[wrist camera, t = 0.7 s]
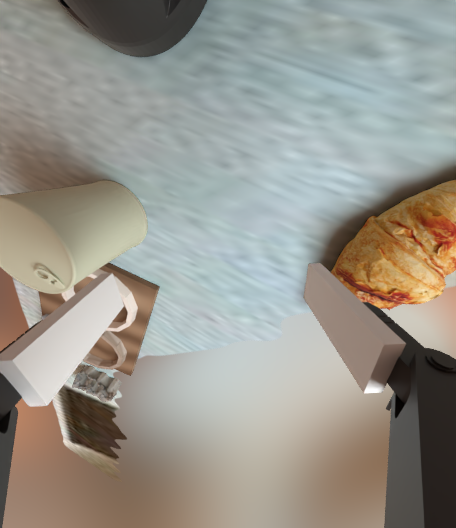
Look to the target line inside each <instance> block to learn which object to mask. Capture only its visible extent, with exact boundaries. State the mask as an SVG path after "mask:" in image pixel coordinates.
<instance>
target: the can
mask: <svg viewBox="0 0 456 528" xmlns="http://www.w3.org/2000/svg"><path fill="white" fill-rule="evenodd" d="M147 229H148V222H147V217H146V213H145V211H144V208H143V206H142V205H141V203H140V201H139V200H138V199H137V197H136V196H135V195H134V194H133V193H132V192H131V191H130V190H128V189H127V188H126V187H124V186H123V185H121V184H119V183H116V182H113V181H107V180H102V181H97V182H95V183H91V184H85V185H78V186H71V187H64V188H56V189H49V190H41V191H34V192H26V193H18V194H9V195H0V267H1V268H2V269H3V270H4V271H6V272H7V273H8V274H9V275H11V276H12V277H13V278H15V279H16V280H18V281H19V282H21V283H23V284H24V285H26V286H28V287H30V288H32V289H35V290H37V291H40V292H44V293H50V294H59V293H63V292H66V291H68V290H69V289H71V288H72V287H73V286H74V285H75V284H77V283H78V282H80V281H81V280H83V279H84V278H86V277H87V276H89V275H90V274H92V273H93V272H95V271H96V270H98V269H99V268H101V267H102V266H104V265H105V264H107V263H108V262H110V261H111V260H113V259H115V258H116V257H118V256H119V255H121V254H122V253H124V252H125V251H127V250H129V249H130V248H132V247H135V246H137V245H139V244H140V243H141V242H142V241H143V240H144V238H145V236H146V234H147Z"/></svg>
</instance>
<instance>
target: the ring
mask: <svg viewBox="0 0 456 528" xmlns="http://www.w3.org/2000/svg"><path fill="white" fill-rule="evenodd" d="M101 273H107V272H105V271H103V270H101V269H98V270H96V271H95V272H93V273H92V274H90V275H89V276H87V277H91V278H93V279H95V278H96V277H97V276H99V275H100V274H101ZM114 278H115V281H116V284H117V287H118V290H119V292H120V295H121V298H122V301H123V303H124V305H125V307H126V309H127V312H128V315H127V319H126V320H125V321H123V322H112V323H111V324H110V325H109V326H108V328H107V329H106V330H105V331H117V332H119V331H121V330H123V329H125V328H127V327H129V326H130V325H131V324H132V323H133V321H134V320H135V317H136V313H137V309H138V307H137V304H136V302H135V299H134V297H133V295H132V292H131V291H130V290H129V289H128V288H127V287H126V286H125V285H124V284H123V283H122V282H121V281H120V280H119V279H118V278H117V277H116V276H114ZM74 295H75V292H74V286H73V287H72V288H71V289H69V290H68V291H66V292H63V293H62V296H63V298H64V300H65V301H67V300H69V299H70V298H71V297H72V296H74Z"/></svg>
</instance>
